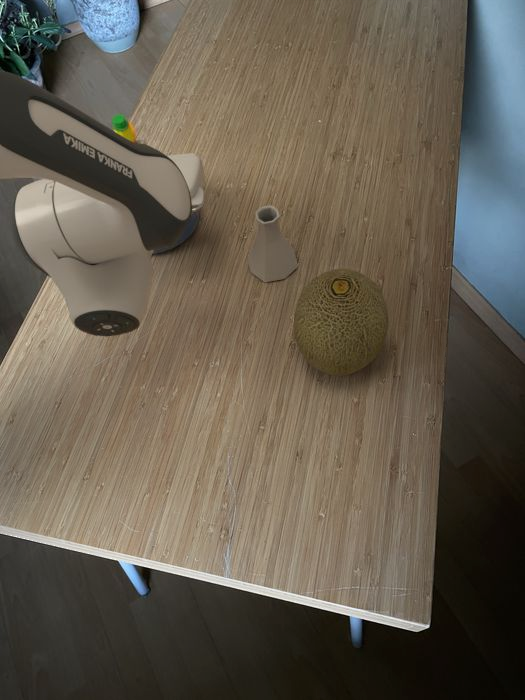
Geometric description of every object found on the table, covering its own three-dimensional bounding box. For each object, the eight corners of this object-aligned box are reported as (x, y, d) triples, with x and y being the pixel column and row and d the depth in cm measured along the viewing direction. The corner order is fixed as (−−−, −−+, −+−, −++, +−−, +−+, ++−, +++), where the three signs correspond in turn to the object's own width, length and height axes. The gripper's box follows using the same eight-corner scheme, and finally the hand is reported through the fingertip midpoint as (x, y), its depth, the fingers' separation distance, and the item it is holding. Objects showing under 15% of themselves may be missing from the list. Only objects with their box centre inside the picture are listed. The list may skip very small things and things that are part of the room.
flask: (239, 256, 87) (230, 207, 78) (283, 236, 88) (278, 186, 79) (262, 290, 83) (255, 243, 75) (306, 269, 84) (305, 220, 76)
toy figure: (128, 171, 87) (103, 99, 77) (152, 166, 87) (130, 94, 77) (131, 203, 83) (105, 133, 73) (156, 199, 83) (134, 128, 73)
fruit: (299, 315, 80) (295, 242, 68) (383, 319, 79) (395, 245, 66) (292, 390, 75) (286, 325, 62) (382, 395, 73) (395, 330, 60)
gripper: (199, 193, 69) (202, 117, 77) (31, 209, 71) (49, 132, 78) (208, 230, 75) (210, 156, 82) (51, 244, 76) (67, 169, 83)
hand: (130, 144), depth 80 cm, fingers closed on toy figure
